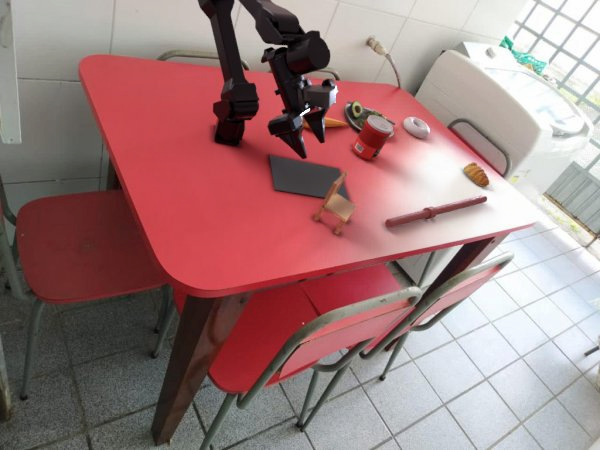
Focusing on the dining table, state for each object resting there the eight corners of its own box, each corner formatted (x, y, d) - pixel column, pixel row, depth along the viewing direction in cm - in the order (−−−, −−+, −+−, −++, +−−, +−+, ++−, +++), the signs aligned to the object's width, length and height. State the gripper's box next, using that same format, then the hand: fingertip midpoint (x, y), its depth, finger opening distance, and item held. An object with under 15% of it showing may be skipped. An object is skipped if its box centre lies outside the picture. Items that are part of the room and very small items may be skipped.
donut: (404, 119, 151) (399, 129, 143) (408, 111, 148) (404, 121, 141) (427, 132, 150) (424, 143, 142) (433, 125, 148) (429, 135, 140)
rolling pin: (388, 232, 101) (395, 224, 99) (381, 223, 102) (387, 214, 100) (484, 205, 127) (491, 198, 125) (477, 198, 129) (483, 191, 127)
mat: (274, 190, 97) (275, 189, 96) (269, 155, 105) (269, 155, 105) (349, 202, 104) (349, 201, 103) (338, 169, 112) (338, 168, 112)
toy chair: (313, 219, 94) (333, 182, 87) (325, 205, 99) (345, 170, 92) (337, 234, 94) (359, 199, 86) (348, 220, 99) (369, 185, 91)
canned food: (374, 165, 121) (393, 135, 113) (350, 154, 120) (367, 123, 113) (376, 152, 126) (393, 122, 119) (352, 141, 126) (369, 111, 118)
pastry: (490, 187, 138) (497, 178, 135) (478, 189, 134) (486, 180, 131) (471, 168, 142) (478, 160, 140) (459, 170, 138) (466, 161, 136)
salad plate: (385, 114, 147) (391, 103, 144) (402, 144, 136) (410, 133, 133) (337, 103, 140) (343, 91, 137) (352, 134, 128) (359, 122, 125)
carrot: (301, 130, 120) (310, 122, 117) (296, 117, 121) (305, 109, 118) (347, 134, 133) (357, 127, 129) (343, 122, 134) (352, 114, 130)
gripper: (301, 79, 72) (329, 161, 78) (341, 57, 85) (362, 128, 91) (253, 95, 78) (282, 170, 84) (297, 73, 92) (319, 138, 98)
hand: (314, 150), depth 89 cm, fingers open, 9 cm apart
